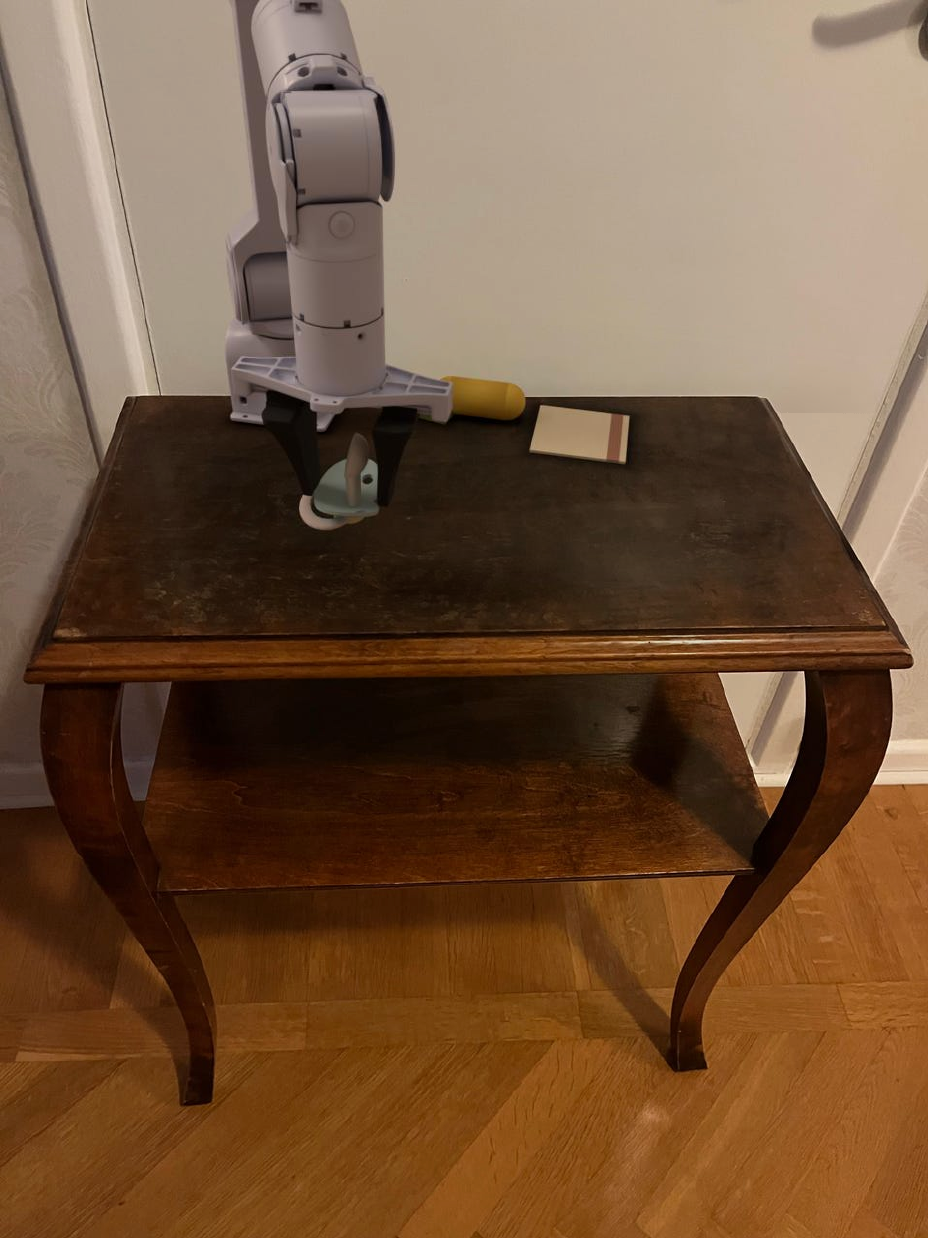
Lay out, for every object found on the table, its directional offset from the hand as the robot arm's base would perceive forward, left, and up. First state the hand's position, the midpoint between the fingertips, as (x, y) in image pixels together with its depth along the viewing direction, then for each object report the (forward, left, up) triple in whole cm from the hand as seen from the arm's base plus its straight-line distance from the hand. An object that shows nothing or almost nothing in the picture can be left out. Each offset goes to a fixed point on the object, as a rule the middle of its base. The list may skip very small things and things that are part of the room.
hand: (348, 493), depth 65 cm
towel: (+16, +26, -8) cm, 32 cm away
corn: (+5, +28, -8) cm, 29 cm away
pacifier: (-1, 0, -2) cm, 2 cm away
